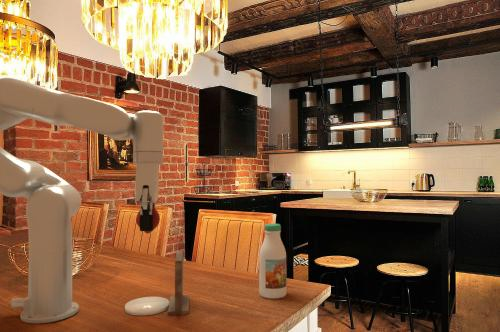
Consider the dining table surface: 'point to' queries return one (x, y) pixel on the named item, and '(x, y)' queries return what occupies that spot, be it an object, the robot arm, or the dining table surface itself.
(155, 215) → the onion
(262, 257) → the milk bottle
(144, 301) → the coaster
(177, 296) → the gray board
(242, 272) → the dining table surface
